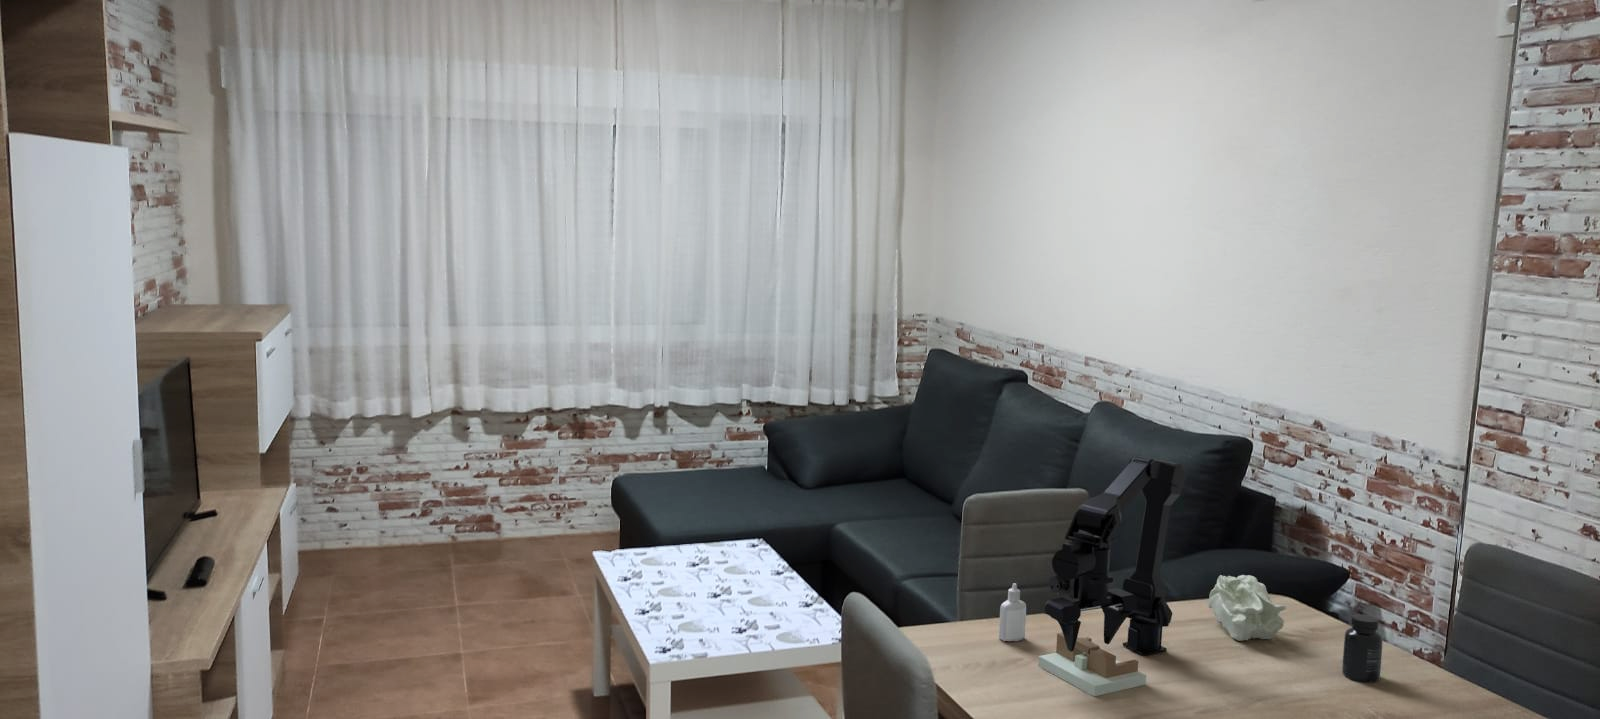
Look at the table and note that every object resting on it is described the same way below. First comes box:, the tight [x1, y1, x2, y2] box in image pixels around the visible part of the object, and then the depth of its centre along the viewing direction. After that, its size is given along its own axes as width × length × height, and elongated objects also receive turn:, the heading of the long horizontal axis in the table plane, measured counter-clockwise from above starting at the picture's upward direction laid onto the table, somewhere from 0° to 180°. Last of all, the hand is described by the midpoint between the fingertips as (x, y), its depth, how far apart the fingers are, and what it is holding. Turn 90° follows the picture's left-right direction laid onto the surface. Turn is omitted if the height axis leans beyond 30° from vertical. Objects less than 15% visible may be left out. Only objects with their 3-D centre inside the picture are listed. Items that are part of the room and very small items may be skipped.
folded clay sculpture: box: [1208, 574, 1287, 642], centre depth 252 cm, size 18×13×16 cm
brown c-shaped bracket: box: [1055, 632, 1139, 678], centre depth 228 cm, size 8×14×4 cm, turn 28°
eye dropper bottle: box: [998, 582, 1027, 643], centre depth 244 cm, size 4×6×12 cm
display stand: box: [1037, 652, 1147, 697], centre depth 226 cm, size 13×16×4 cm
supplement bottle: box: [1341, 614, 1384, 683], centre depth 229 cm, size 7×7×12 cm
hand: (1088, 647), depth 225 cm, fingers open, 9 cm apart
